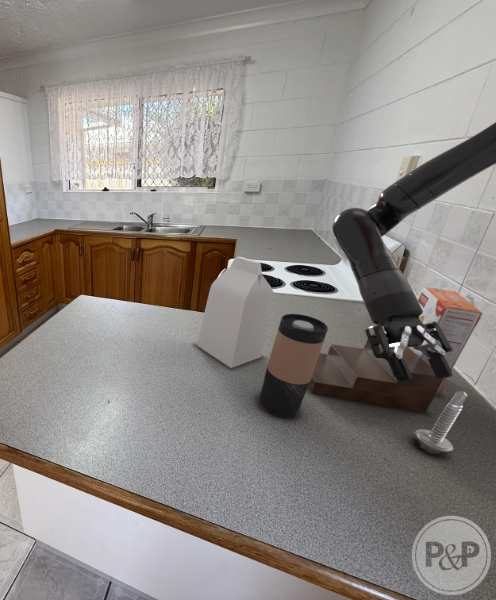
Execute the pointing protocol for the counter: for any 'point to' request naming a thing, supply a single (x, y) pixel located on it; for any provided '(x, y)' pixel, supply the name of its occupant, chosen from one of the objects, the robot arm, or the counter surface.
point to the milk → (237, 314)
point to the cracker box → (448, 321)
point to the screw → (442, 427)
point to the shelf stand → (374, 378)
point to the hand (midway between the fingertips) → (425, 379)
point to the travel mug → (292, 364)
